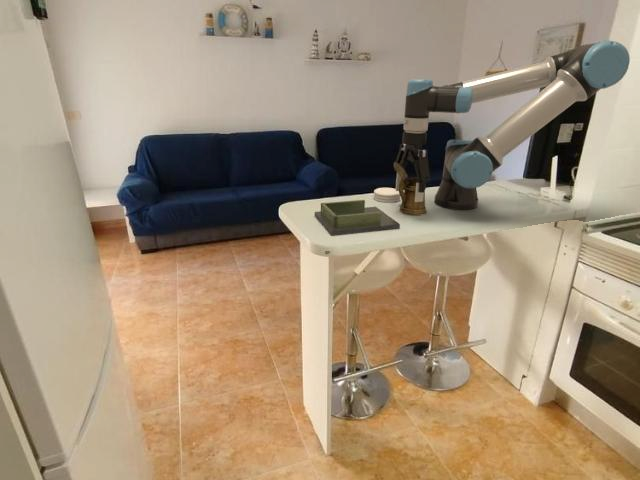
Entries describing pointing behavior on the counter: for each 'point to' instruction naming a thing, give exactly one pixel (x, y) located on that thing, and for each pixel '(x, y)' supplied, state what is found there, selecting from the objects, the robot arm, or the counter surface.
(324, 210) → the green and grey tray
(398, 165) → the wooden mug
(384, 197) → the coaster
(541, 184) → the counter surface
